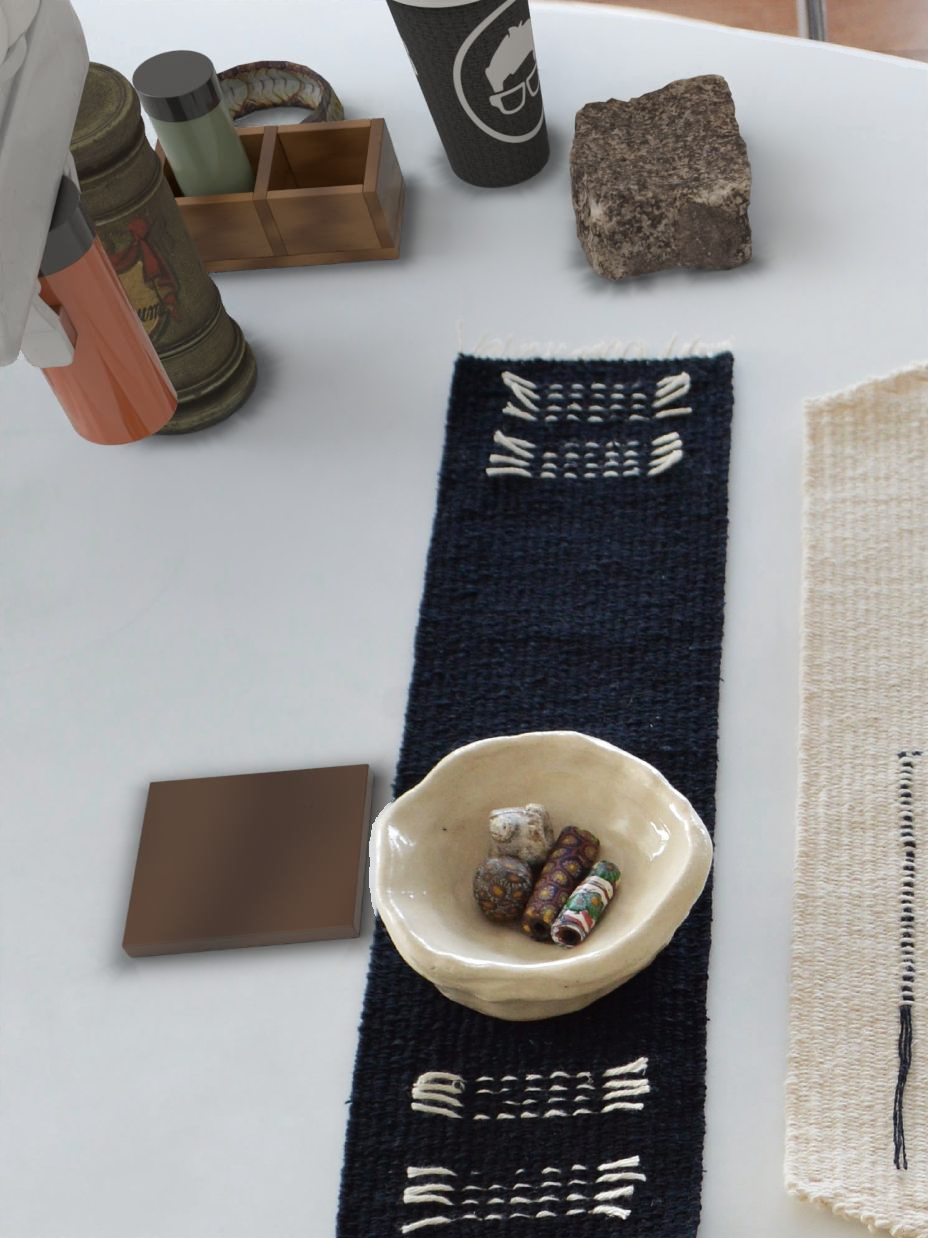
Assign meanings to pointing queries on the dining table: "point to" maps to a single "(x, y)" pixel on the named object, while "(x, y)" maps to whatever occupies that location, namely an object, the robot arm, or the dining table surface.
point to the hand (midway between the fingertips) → (68, 308)
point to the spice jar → (100, 335)
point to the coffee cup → (479, 84)
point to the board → (250, 860)
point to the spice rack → (303, 199)
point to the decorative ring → (279, 90)
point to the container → (157, 256)
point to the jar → (194, 123)
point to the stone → (662, 181)
